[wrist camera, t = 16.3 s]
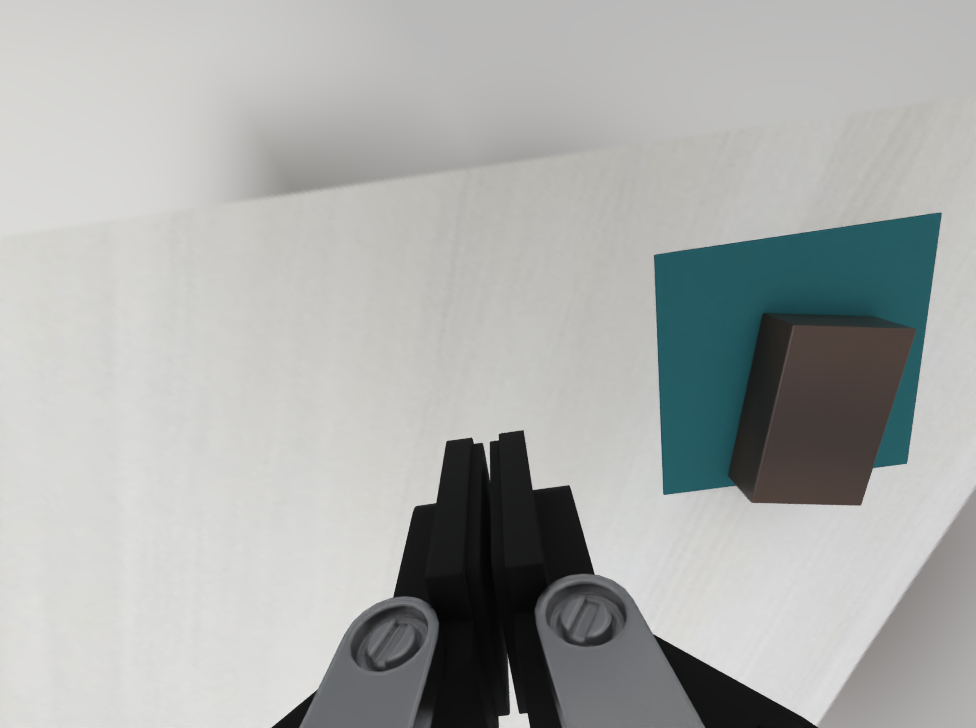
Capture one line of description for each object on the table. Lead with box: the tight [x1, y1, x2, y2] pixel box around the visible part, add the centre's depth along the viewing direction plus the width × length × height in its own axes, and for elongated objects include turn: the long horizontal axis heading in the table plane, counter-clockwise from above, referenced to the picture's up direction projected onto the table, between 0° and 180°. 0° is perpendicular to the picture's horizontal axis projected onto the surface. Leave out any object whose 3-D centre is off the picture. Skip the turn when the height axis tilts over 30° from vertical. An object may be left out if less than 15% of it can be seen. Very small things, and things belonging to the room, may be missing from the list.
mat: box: [654, 213, 942, 495], centre depth 25 cm, size 13×13×1 cm
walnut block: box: [728, 313, 916, 506], centre depth 24 cm, size 9×6×2 cm, turn 178°
